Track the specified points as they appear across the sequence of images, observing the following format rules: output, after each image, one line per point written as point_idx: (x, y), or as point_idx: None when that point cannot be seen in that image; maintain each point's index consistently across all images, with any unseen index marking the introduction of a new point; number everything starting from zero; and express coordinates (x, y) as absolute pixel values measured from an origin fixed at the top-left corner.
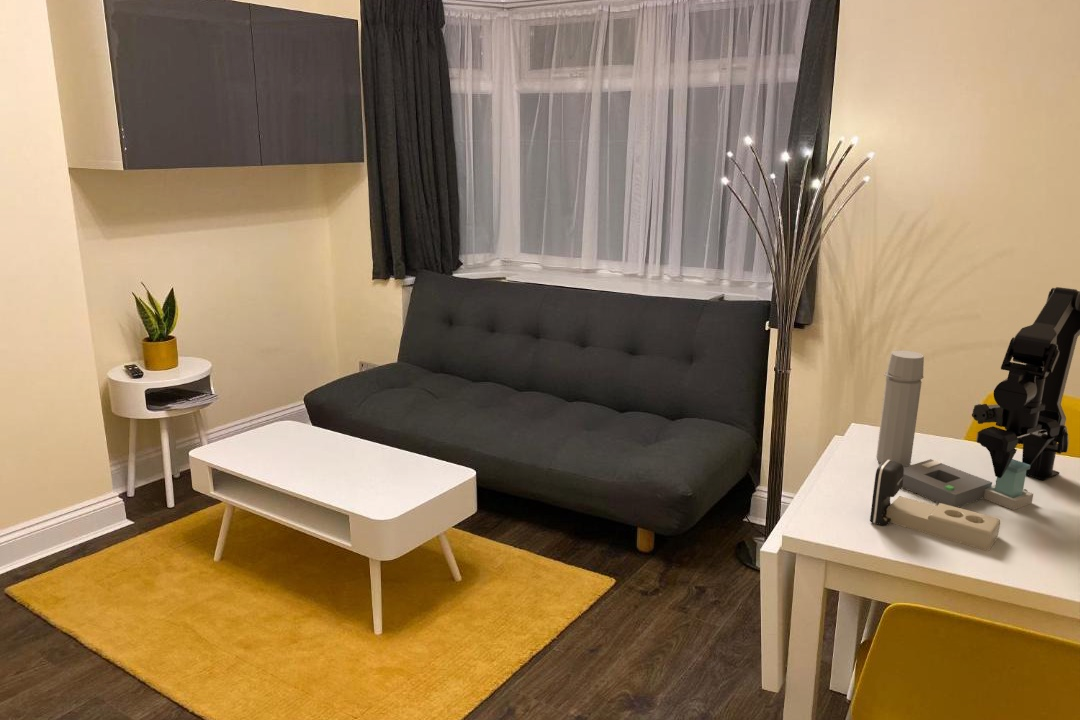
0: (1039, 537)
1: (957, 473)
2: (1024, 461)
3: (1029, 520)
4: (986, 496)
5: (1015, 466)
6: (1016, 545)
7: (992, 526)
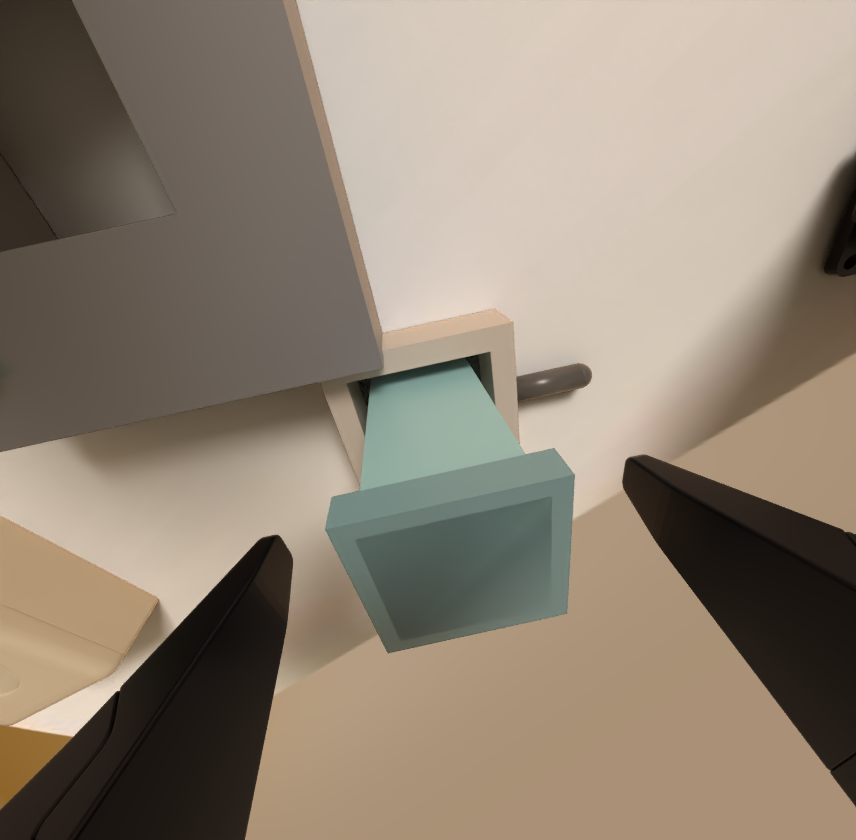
0: (302, 615)
1: (198, 87)
2: (663, 497)
3: None
4: None
5: (423, 619)
6: None
7: (33, 711)
